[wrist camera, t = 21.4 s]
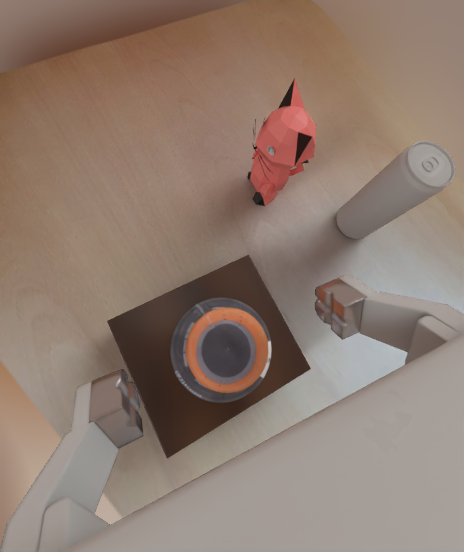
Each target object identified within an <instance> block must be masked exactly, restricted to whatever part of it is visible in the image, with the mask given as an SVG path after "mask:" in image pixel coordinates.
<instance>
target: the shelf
mask: <svg viewBox="0 0 464 552" xmlns="http://www.w3.org/2000/svg"><path fill="white" fill-rule="evenodd" d="M219 297H224V298H231V299H235V300H238V301H241V302H243V303H245V304H246V305H248V306H250V307H251V308H252V309H253V310H254V311H255V312H257V313H258V315H259V316H260V317H261V318H262V320H263V321H264V323H265V325H266V327H267V329H268V332H269V335H270V339H271V360H270V364H269V367H268V370H267V372H266V374H265V376H264V378H263V380H262V381H261V383H260V384H259V385H258V386H257V387H256V388H255V389H254V390H253V391H252V392H251V393H249V394H248V395H246V396H244V397H243V398H240V399H238V400H235V401H232V402H226V403H216V402H210V401H206V400H203V399H200V398H198V397H197V396H195V395H193V394H192V393H191V392H189V391H188V390H187V389H186V388H185V387H184V386H183V385H182V384H181V382H180V381H179V379H178V378H177V376H176V374H175V371H174V369H173V366H172V362H171V356H170V345H171V339H172V335H173V332H174V330H175V327H176V325H177V323H178V322H179V320H180V319H181V317H182V316H183V315H184V314H185V313H186V312H187V311H188V310H189V309H190V308H191V307H193V306H194V305H196V304H197V303H199V302H201V301H204V300H207V299H211V298H219ZM107 322H108V324H109V327H110V329H111V331H112V333H113V336H114V338H115V340H116V343H117V345H118V347H119V349H120V352H121V354H122V356H123V359H124V361H125V363H126V366H127V368H128V370H129V372H130V375H131V377H132V379H133V382H134V384H135V386H136V388H137V391H138V393H139V395H140V398H141V400H142V402H143V404H144V407H145V409H146V411H147V414H148V416H149V418H150V421H151V423H152V425H153V427H154V430H155V432H156V434H157V437H158V439H159V441H160V443H161V446H162V448H163V450H164V453H165V455H166V457H167V458H169V457H170V456H172V455H174V454H175V453H177V452H178V451H180V450H182V449H183V448H185V447H186V446H188V445H190V444H191V443H193V442H194V441H196V440H198V439H199V438H201V437H202V436H204V435H206V434H207V433H209V432H210V431H212V430H214V429H215V428H217V427H218V426H220V425H222V424H223V423H225V422H226V421H228V420H230V419H231V418H233V417H234V416H236V415H238V414H239V413H241V412H242V411H244V410H246V409H247V408H249V407H250V406H252V405H254V404H255V403H257V402H258V401H260V400H262V399H263V398H265V397H266V396H268V395H270V394H271V393H273V392H274V391H276V390H278V389H279V388H281V387H282V386H284V385H286V384H287V383H289V382H290V381H292V380H294V379H295V378H297V377H298V376H300V375H302V374H303V373H305V372H306V371H308V370H310V369H311V368H310V366H309V365H308V363H307V361H306V359H305V357H304V355H303V354H302V352H301V350H300V348H299V346H298V344H297V343H296V341H295V339H294V337H293V335H292V333H291V332H290V330H289V328H288V326H287V324H286V322H285V321H284V319H283V317H282V315H281V313H280V311H279V310H278V308H277V306H276V304H275V302H274V300H273V299H272V297H271V295H270V293H269V291H268V289H267V288H266V286H265V284H264V282H263V280H262V278H261V277H260V275H259V273H258V271H257V269H256V267H255V266H254V264H253V262H252V260H251V258H250V256H249V255H247V256H245V257H243V258H241V259H239V260H236V261H234V262H232V263H230V264H228V265H226V266H224V267H221V268H219V269H217V270H215V271H213V272H211V273H209V274H207V275H204V276H202V277H200V278H198V279H196V280H194V281H192V282H189V283H187V284H185V285H183V286H181V287H179V288H177V289H175V290H172V291H170V292H168V293H166V294H164V295H162V296H160V297H158V298H155V299H153V300H151V301H149V302H147V303H145V304H143V305H140V306H138V307H136V308H134V309H132V310H130V311H128V312H126V313H123V314H121V315H119V316H117V317H115V318H113V319H111V320H108V321H107Z"/></svg>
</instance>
